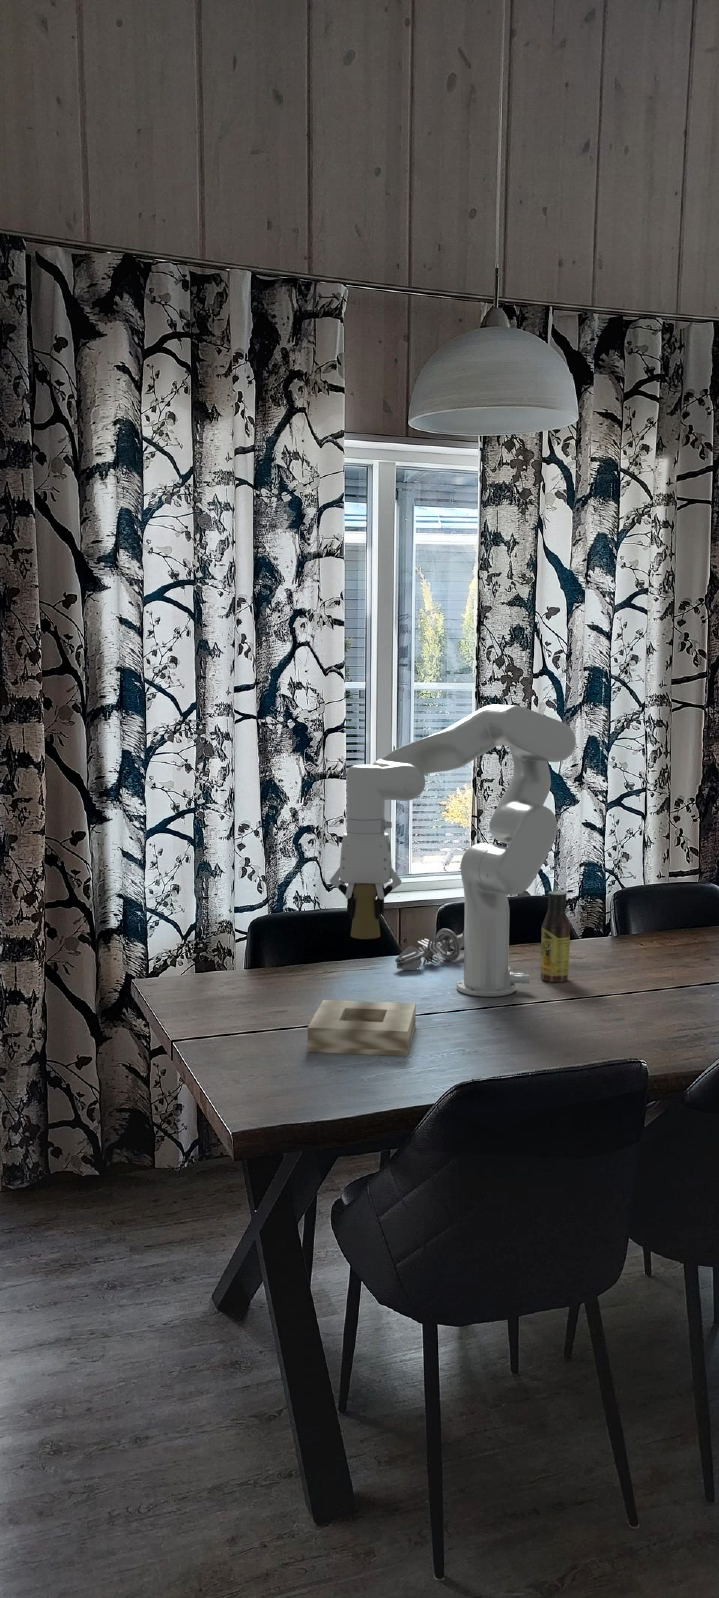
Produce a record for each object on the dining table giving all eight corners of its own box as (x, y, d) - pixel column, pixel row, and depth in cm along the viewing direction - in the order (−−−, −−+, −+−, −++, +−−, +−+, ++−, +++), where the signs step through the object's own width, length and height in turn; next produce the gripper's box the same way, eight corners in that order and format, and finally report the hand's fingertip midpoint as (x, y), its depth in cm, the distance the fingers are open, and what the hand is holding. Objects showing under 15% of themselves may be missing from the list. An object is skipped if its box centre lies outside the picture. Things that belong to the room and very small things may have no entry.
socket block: (415, 1026, 224) (415, 1003, 224) (407, 1056, 206) (407, 1031, 206) (323, 1022, 226) (323, 999, 226) (307, 1052, 209) (307, 1027, 208)
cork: (381, 932, 236) (382, 879, 235) (379, 939, 230) (379, 884, 229) (352, 931, 237) (352, 878, 235) (348, 938, 231) (348, 884, 229)
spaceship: (512, 921, 282) (488, 904, 287) (411, 959, 259) (387, 940, 264) (504, 948, 286) (481, 931, 291) (404, 988, 263) (381, 969, 268)
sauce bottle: (537, 976, 261) (538, 889, 259) (564, 976, 262) (566, 889, 260) (544, 984, 255) (545, 894, 253) (572, 983, 255) (574, 894, 253)
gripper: (409, 825, 234) (409, 914, 235) (326, 824, 236) (327, 912, 238) (406, 830, 226) (405, 922, 228) (320, 828, 228) (320, 920, 230)
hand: (365, 916), depth 233 cm, fingers closed on cork, 4 cm apart
